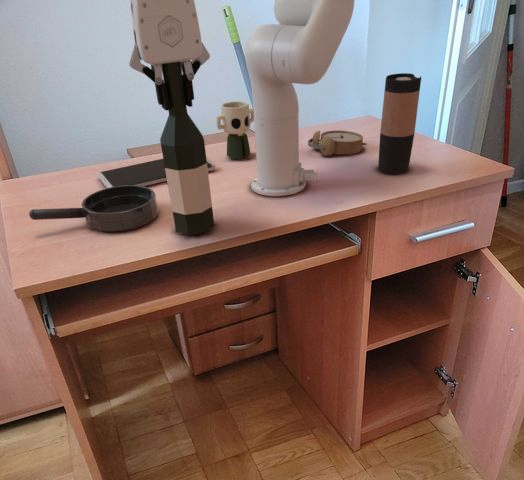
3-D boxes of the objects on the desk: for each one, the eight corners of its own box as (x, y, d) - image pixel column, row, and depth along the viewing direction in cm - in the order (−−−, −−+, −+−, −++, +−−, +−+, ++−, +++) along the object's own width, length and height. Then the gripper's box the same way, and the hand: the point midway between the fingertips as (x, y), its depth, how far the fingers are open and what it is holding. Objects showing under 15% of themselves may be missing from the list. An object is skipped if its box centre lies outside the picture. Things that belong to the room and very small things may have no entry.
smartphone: (216, 171, 126) (215, 164, 125) (111, 195, 117) (109, 188, 116) (196, 157, 135) (195, 150, 134) (97, 178, 126) (96, 172, 125)
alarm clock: (372, 140, 129) (319, 138, 124) (367, 159, 132) (316, 158, 127) (352, 129, 137) (302, 126, 133) (348, 148, 140) (299, 146, 135)
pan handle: (87, 214, 104) (82, 198, 102) (89, 218, 103) (84, 201, 101) (33, 225, 101) (27, 209, 99) (34, 229, 100) (27, 212, 98)
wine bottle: (208, 235, 96) (185, 58, 78) (168, 234, 98) (135, 59, 79) (219, 217, 103) (201, 49, 84) (181, 216, 104) (154, 50, 85)
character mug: (227, 165, 129) (222, 111, 121) (214, 158, 134) (208, 105, 125) (263, 156, 133) (260, 103, 125) (249, 149, 138) (246, 98, 130)
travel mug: (373, 173, 119) (382, 80, 106) (380, 163, 124) (389, 72, 112) (406, 176, 116) (419, 81, 104) (411, 165, 122) (424, 73, 109)
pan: (149, 198, 114) (146, 180, 112) (166, 223, 103) (162, 203, 101) (83, 212, 110) (77, 193, 107) (92, 239, 99) (86, 219, 97)
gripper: (107, -21, 70) (134, 119, 82) (217, -29, 75) (229, 104, 86) (98, -22, 75) (125, 109, 87) (202, -30, 80) (214, 96, 92)
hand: (177, 105), depth 86 cm, fingers closed on wine bottle, 3 cm apart
